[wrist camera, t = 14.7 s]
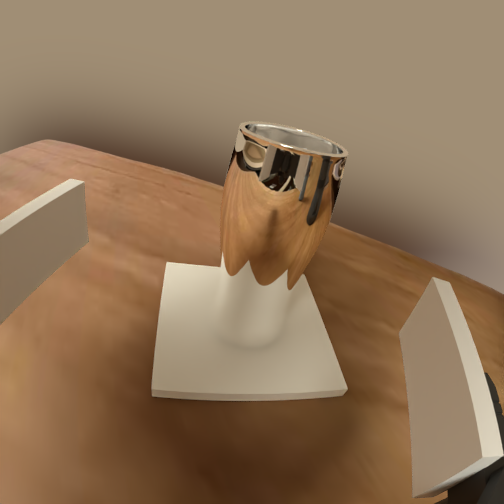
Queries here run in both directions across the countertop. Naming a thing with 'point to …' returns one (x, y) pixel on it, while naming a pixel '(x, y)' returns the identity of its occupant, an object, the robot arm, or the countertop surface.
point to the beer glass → (271, 225)
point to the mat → (238, 358)
